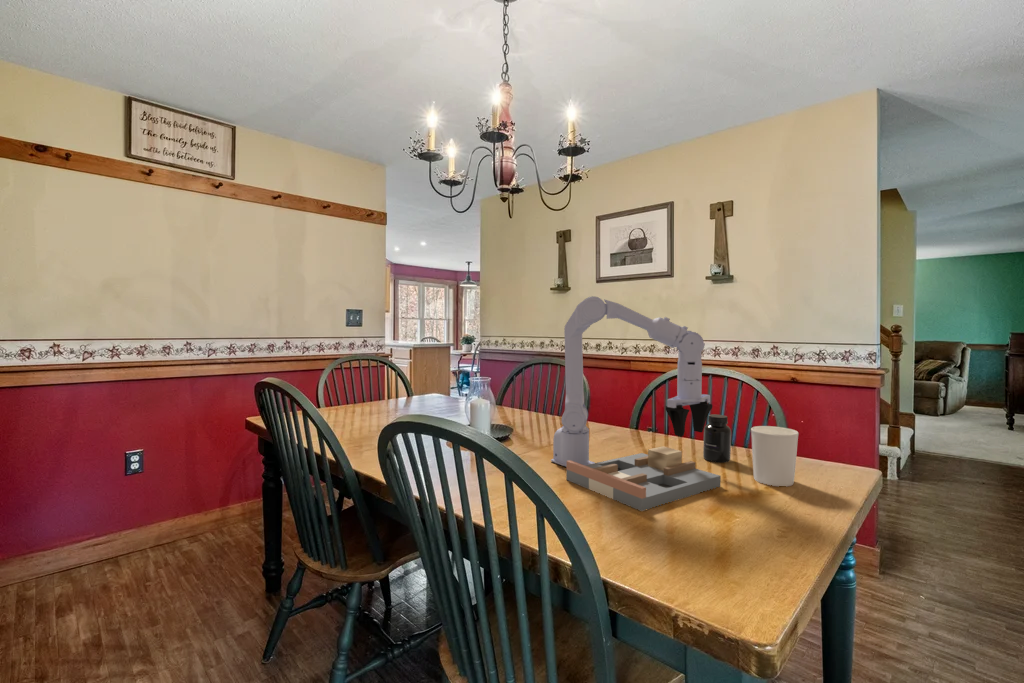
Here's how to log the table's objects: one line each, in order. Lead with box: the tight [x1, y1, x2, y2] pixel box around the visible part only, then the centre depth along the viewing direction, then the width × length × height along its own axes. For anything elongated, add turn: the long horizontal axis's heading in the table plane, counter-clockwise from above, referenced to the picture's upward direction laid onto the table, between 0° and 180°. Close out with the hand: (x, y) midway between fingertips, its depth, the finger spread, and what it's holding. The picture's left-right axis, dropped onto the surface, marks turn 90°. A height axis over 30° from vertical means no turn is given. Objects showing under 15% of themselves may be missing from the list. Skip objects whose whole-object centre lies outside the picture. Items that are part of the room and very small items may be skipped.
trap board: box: [565, 452, 722, 512], centre depth 112 cm, size 23×26×4 cm
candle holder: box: [750, 425, 800, 487], centre depth 113 cm, size 10×10×12 cm
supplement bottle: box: [702, 414, 732, 464], centre depth 131 cm, size 7×7×12 cm
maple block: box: [647, 446, 683, 471], centre depth 116 cm, size 6×6×4 cm
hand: (688, 433), depth 121 cm, fingers open, 7 cm apart
